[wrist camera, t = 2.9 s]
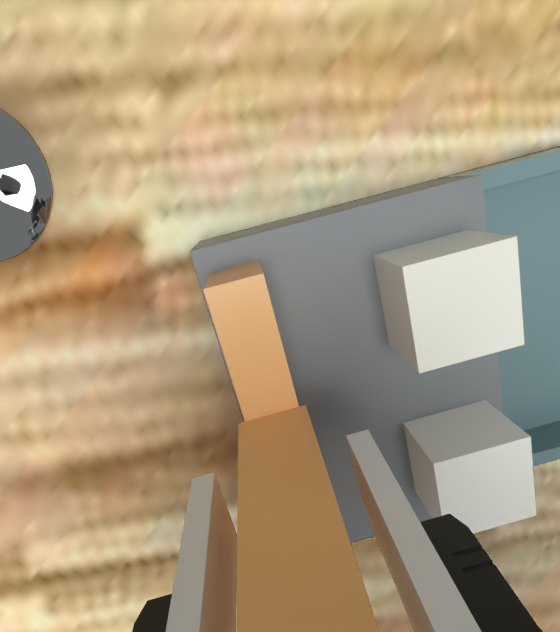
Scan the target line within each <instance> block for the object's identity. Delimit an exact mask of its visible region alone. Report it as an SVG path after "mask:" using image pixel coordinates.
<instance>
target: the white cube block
mask: <svg viewBox="0 0 560 632" xmlns="http://www.w3.org/2000/svg"><path fill="white" fill-rule="evenodd" d="M403 425H404V430H405V436H406V441H407V447H408V452H409V458H410V464H411V469H412V475H413V480H414V486H415V491H416V493H417V495H418V496H419V498H420V500H421V501H422V503H423V505H424V506H425V508H426V510H427V511H428V513H429V515H430V516H431V518H436V517H439V516H443V515H446V514H451V515H452V516H454V517H455V518H457V519H458V520H459V521H461V522H462V523H464V524H465V525H466V526H468V527H469V529H470V530H471V532H472V533H473V534H474V533H478V532H481V531H484V530H488V529H491V528H495V527H498V526H502V525H505V524H509V523H512V522H516V521H519V520H523V519H526V518H530V517H533V516H536V504H535V489H534V475H533V460H532V446H531V436H530V435H528V434H527V433H526V432H525V431H523V430H522V429H521V428H520V427H518V426H517V425H516V424H515V423H514V422H512V421H511V420H510V419H509V418H507V417H506V416H505V415H504V414H502V413H501V412H500V411H499V410H497V409H496V408H495V407H494V406H492V405H491V404H490V403H489V402H488V401H486V400H483V401H480V402H476V403H473V404H469V405H466V406H462V407H458V408H455V409H451V410H448V411H444V412H440V413H437V414H433V415H430V416H426V417H422V418H419V419H415V420H412V421H408V422H404V423H403Z"/></svg>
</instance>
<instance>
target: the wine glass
mask: <svg viewBox="0 0 560 632" xmlns="http://www.w3.org/2000/svg"><path fill="white" fill-rule="evenodd" d="M52 197H53V189H52V183H51V176H50V173H49V170H48V167H47V163H46V161H45V159H44V157H43V155H42V153H41V151H40V149H39V147H38V145H37V144H36V143H35V141H34V140H33V138H32V137H31V135H30V134H29V133H28V132H27V131H26V130H25V129H24V128H23V127H22V126H21V124H20V123H19V122H18V121H16V120H15V119H14V118H13V117H11V116H10V115H9V114H8V113H6V112H5V111H4V110H2V109H0V261H4V260H7V259H9V258H12V257H15V256H17V255H19V254H20V253H22V252H24V251H25V250H27V249H28V248H29V247H30V246H31V245H32V244H33V243H34V242H36V241H37V239H38V238H39V236H40V235H41V234H42V232H43V231H44V229H45V227H46V224H47V222H48V220H49V217H50V213H51V208H52Z"/></svg>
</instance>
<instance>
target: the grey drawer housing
mask: <svg viewBox="0 0 560 632" xmlns="http://www.w3.org/2000/svg"><path fill="white" fill-rule="evenodd" d="M466 230H472V231H480V232H487V225H486V214H485V203H484V192H483V181H482V174H480V175H471V176H462V177H453V178H444V179H435V180H430V181H427V182H423V183H419V184H415V185H412V186H408V187H404V188H400V189H396V190H393V191H389V192H385V193H381V194H377V195H374V196H370V197H366V198H362V199H359V200H355V201H351V202H347V203H343V204H340V205H336V206H332V207H328V208H325V209H321V210H317V211H313V212H309V213H306V214H302V215H298V216H294V217H290V218H287V219H283V220H279V221H275V222H272V223H268V224H264V225H260V226H256V227H253V228H249V229H245V230H241V231H237V232H234V233H230V234H226V235H222V236H219V237H215V238H211V239H207V240H203V241H200V242H199V243H198V244H197V245H196V246H195V247H194V248H193V249H192V250H191V251H190V255H191V258H192V261H193V264H194V267H195V270H196V273H197V277H198V280H199V283H200V286H201V289H202V292H203V295H204V299H205V302H206V305H207V308H208V311H209V314H210V317H211V320H212V324H213V327H214V330H215V333H216V336H217V339H218V342H219V346H220V349H221V352H222V355H223V358H224V361H225V364H226V368H227V371H228V374H229V377H230V380H231V383H232V386H233V390H234V393H235V396H236V399H237V402H238V405H239V408H240V412H241V415H242V418H243V421H244V422H245V420H244V417H243V414H242V411H241V407H240V404H239V401H238V398H237V395H236V392H235V388H234V385H233V382H232V379H231V376H230V373H229V370H228V366H227V363H226V360H225V357H224V354H223V351H222V348H221V344H220V341H219V338H218V335H217V332H216V329H215V325H214V322H213V319H212V316H211V313H210V310H209V307H208V303H207V300H206V297H205V294H204V291H203V288H204V286H205V284H206V281H207V279H208V276H209V274H210V273H212V272H216V271H220V270H223V269H227V268H231V267H235V266H238V265H242V264H246V263H250V262H253V261H257V260H259V261H260V264H261V268H262V271H263V274H264V277H265V281H266V285H267V289H268V292H269V296H270V300H271V304H272V307H273V311H274V315H275V319H276V322H277V326H278V330H279V334H280V337H281V341H282V345H283V349H284V352H285V356H286V360H287V364H288V367H289V371H290V375H291V379H292V382H293V386H294V390H295V394H296V397H297V401H298V405H299V407H300V406H303V405H306V407H307V410H308V414H309V417H310V420H311V423H312V426H313V429H314V432H315V435H316V438H317V441H318V444H319V448H320V451H321V454H322V457H323V460H324V463H325V466H326V469H327V472H328V475H329V478H330V481H331V485H332V488H333V491H334V494H335V497H336V500H337V503H338V506H339V509H340V512H341V515H342V519H343V522H344V525H345V528H346V531H347V534H348V537H349V540H350V543H352V542H356V541H359V540H363V539H366V538H370V537H373V536H375V533H374V531H373V528H372V526H371V524H370V521H369V519H368V516H367V514H366V511H365V509H364V506H363V504H362V501H361V498H360V494H359V489H358V485H357V481H356V476H355V472H354V468H353V463H352V459H351V455H350V451H349V446H348V442H347V438H346V435H349V434H353V433H357V432H360V431H364V430H367V429H368V430H369V432H370V434H371V436H372V438H373V439H374V441H375V443H376V445H377V446H378V448H379V450H380V452H381V454H382V455H383V457H384V459H385V461H386V463H387V464H388V466H389V468H390V470H391V471H392V473H393V475H394V477H395V479H396V480H397V482H398V484H399V486H400V487H401V489H402V491H403V493H404V495H405V496H406V498H407V500H408V502H409V503H410V505H411V507H412V509H413V511H414V512H415V514H416V516H417V518H418V519H419V521H420V522H422V521H425V520H429V519H432V518H431V516H430V515H429V513H428V511H427V510H426V508H425V506H424V505H423V503H422V501H421V500H420V498H419V496H418V495H417V493H416V491H415V486H414V480H413V475H412V469H411V464H410V458H409V452H408V447H407V441H406V436H405V430H404V425H403V423H404V422H408V421H412V420H415V419H419V418H422V417H426V416H430V415H433V414H437V413H440V412H444V411H448V410H451V409H455V408H458V407H462V406H466V405H469V404H473V403H476V402H480V401H483V400H486V401H488V402H489V403H490V404H491V405H492V406H494V407H495V408H496V409H497V410H499V411H500V412H501V413H502V414H504V412H503V401H502V390H501V379H500V368H499V357H498V352H496V353H492V354H488V355H485V356H481V357H477V358H474V359H470V360H467V361H463V362H459V363H456V364H452V365H448V366H445V367H441V368H437V369H434V370H430V371H427V372H423V373H418V372H417V371H416V370H415V369H414V368H413V367H412V366H411V365H410V364H409V363H408V362H407V361H406V360H405V359H403V358H402V357H401V356H400V355H399V354H398V353H397V352H396V351H395V350H394V349H393V348H392V347H391V346H390V345H389V341H388V335H387V330H386V324H385V319H384V313H383V308H382V302H381V296H380V291H379V285H378V280H377V274H376V269H375V263H374V257H373V255H376V254H380V253H383V252H387V251H391V250H395V249H398V248H402V247H406V246H410V245H413V244H417V243H421V242H424V241H428V240H432V239H436V238H439V237H443V236H447V235H451V234H454V233H458V232H462V231H466Z"/></svg>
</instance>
